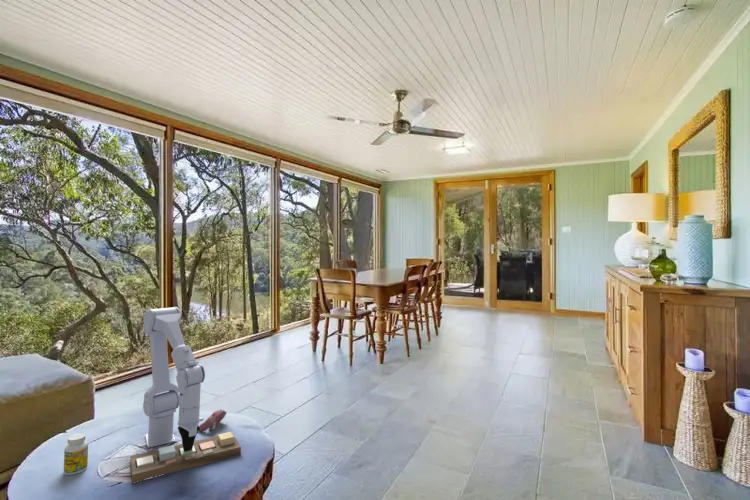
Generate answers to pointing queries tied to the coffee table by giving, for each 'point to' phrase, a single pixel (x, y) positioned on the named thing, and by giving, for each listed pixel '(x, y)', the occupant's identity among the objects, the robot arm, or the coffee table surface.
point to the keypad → (183, 459)
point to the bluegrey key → (166, 453)
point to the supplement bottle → (75, 454)
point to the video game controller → (212, 420)
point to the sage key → (182, 453)
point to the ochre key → (225, 439)
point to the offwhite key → (144, 461)
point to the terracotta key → (206, 446)
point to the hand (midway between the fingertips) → (187, 450)
